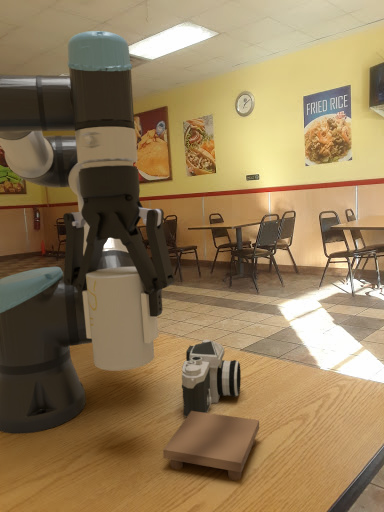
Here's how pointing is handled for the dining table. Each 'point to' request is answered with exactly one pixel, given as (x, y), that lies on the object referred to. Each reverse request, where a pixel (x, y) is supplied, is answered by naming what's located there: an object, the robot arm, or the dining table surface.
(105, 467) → the dining table surface
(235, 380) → the camera
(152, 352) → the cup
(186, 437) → the wooden stand
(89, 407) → the dining table surface
